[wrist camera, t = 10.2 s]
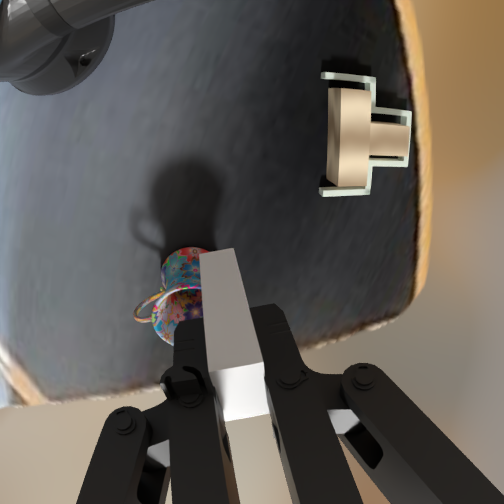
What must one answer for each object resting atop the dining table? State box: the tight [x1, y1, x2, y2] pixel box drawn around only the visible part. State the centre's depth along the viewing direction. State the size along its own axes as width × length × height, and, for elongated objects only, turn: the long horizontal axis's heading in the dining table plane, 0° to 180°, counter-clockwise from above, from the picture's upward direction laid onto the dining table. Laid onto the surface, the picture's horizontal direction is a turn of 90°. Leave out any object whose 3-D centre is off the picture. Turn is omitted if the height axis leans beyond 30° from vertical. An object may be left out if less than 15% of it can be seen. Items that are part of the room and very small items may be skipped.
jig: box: [319, 72, 412, 197], centre depth 38 cm, size 16×13×2 cm
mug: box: [133, 247, 209, 346], centre depth 39 cm, size 12×9×11 cm
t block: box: [327, 88, 410, 187], centre depth 37 cm, size 12×10×4 cm
